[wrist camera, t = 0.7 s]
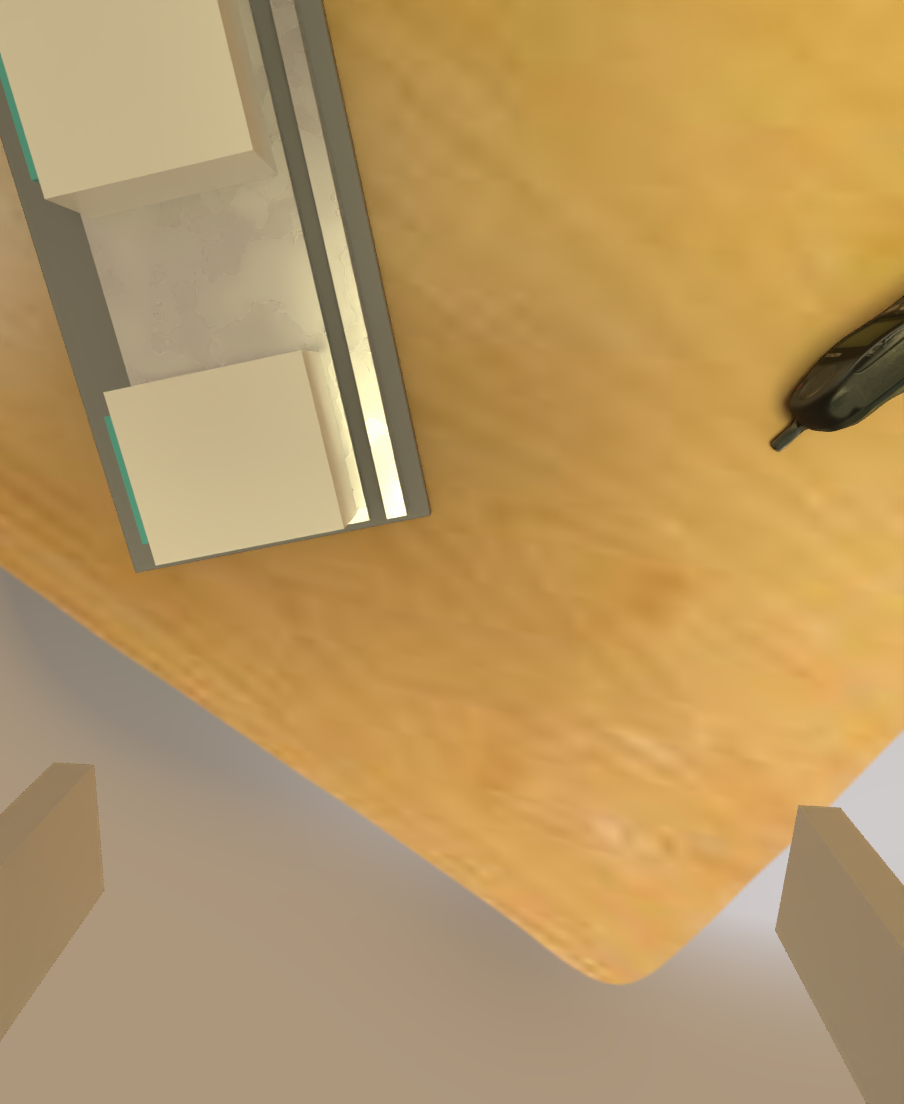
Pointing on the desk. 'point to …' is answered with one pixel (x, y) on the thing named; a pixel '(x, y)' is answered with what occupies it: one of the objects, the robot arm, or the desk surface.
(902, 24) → the desk surface
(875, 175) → the desk surface
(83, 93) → the rail panel
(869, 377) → the mobile phone
